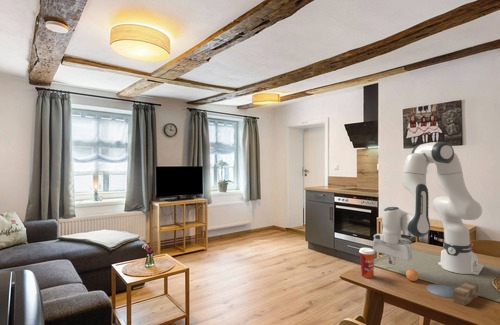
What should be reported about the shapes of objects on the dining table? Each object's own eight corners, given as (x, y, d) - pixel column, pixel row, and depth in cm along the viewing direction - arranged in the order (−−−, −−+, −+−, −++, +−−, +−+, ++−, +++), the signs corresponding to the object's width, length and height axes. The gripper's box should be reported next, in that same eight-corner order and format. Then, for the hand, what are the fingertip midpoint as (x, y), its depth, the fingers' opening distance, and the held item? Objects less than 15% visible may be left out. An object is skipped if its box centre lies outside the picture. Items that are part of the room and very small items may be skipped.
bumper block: (467, 292, 127) (467, 281, 127) (478, 296, 124) (477, 284, 124) (453, 302, 120) (453, 290, 120) (464, 306, 116) (464, 294, 116)
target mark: (435, 282, 139) (435, 282, 139) (466, 292, 127) (466, 292, 127) (420, 289, 132) (420, 289, 132) (452, 300, 121) (452, 300, 121)
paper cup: (368, 280, 143) (367, 252, 143) (356, 275, 150) (355, 248, 150) (379, 277, 147) (378, 250, 147) (366, 272, 154) (366, 246, 154)
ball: (409, 277, 145) (409, 266, 145) (420, 280, 141) (420, 269, 141) (403, 279, 142) (403, 269, 142) (414, 283, 138) (414, 272, 138)
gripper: (414, 241, 143) (414, 269, 143) (378, 233, 160) (378, 257, 160) (407, 243, 139) (407, 271, 139) (370, 234, 157) (371, 259, 157)
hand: (391, 264), depth 150 cm, fingers closed
